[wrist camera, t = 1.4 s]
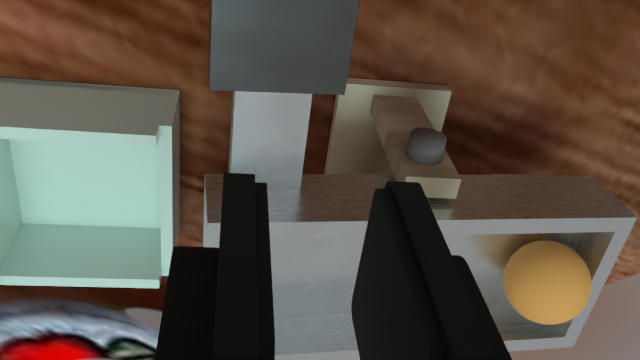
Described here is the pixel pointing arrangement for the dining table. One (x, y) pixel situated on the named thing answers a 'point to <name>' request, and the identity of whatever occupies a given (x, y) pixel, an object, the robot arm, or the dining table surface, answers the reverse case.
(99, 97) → the mint green storage bin
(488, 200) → the track
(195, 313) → the robot arm
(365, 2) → the dining table surface
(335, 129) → the stand
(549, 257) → the ball
